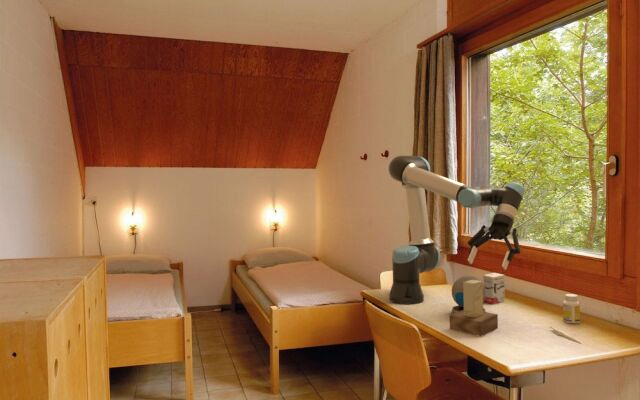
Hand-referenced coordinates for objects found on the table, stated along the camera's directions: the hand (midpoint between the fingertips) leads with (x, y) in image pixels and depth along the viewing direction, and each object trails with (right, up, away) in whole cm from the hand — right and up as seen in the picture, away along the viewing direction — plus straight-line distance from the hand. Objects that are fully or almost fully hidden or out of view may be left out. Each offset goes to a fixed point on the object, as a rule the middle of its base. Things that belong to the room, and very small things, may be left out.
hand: (486, 265), depth 179 cm
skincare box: (-8, -17, -9) cm, 21 cm away
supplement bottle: (+30, -21, -3) cm, 37 cm away
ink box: (+13, -20, +27) cm, 36 cm away
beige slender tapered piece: (+20, -22, -19) cm, 35 cm away
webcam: (-3, -21, +11) cm, 24 cm away
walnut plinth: (-7, -22, -8) cm, 24 cm away
